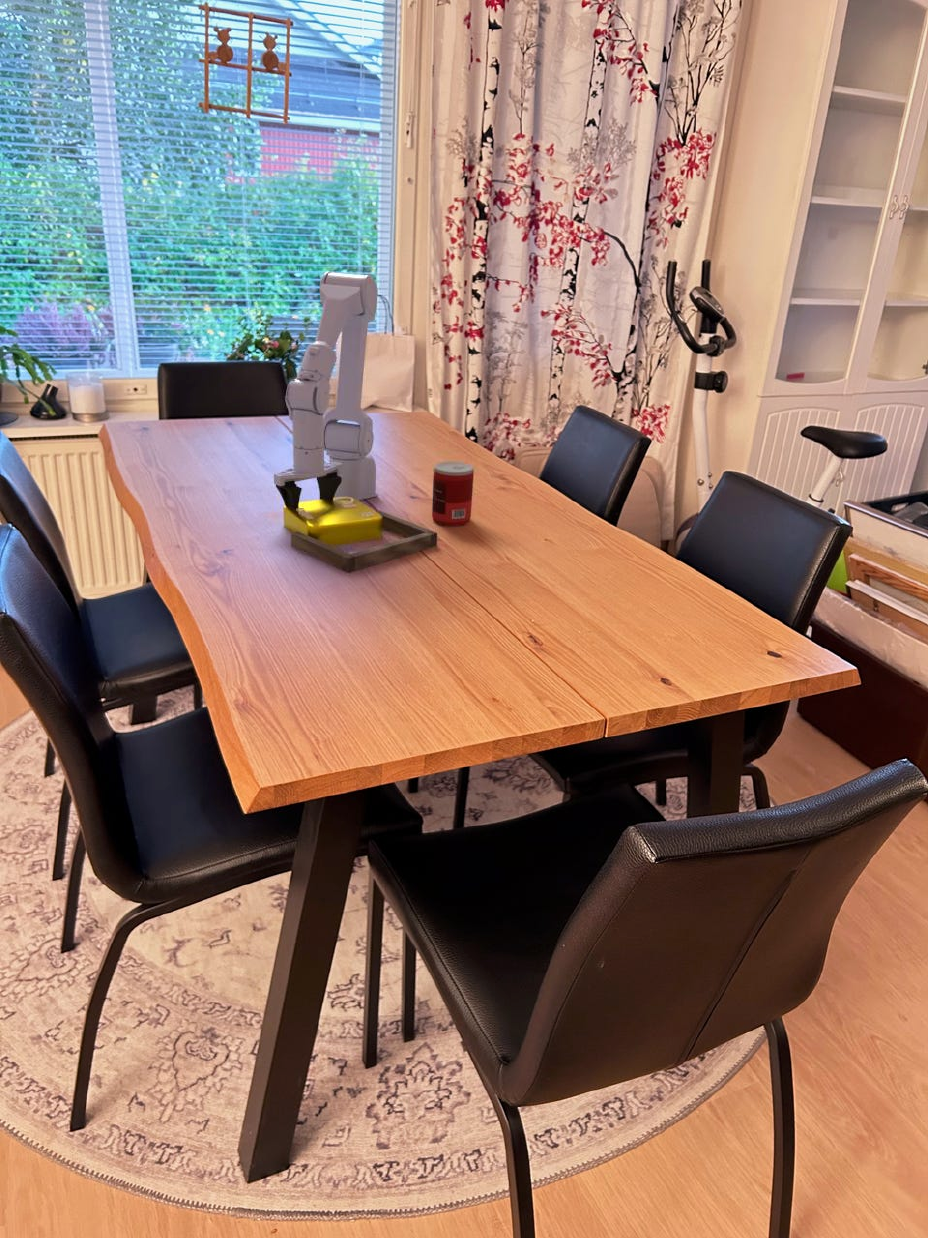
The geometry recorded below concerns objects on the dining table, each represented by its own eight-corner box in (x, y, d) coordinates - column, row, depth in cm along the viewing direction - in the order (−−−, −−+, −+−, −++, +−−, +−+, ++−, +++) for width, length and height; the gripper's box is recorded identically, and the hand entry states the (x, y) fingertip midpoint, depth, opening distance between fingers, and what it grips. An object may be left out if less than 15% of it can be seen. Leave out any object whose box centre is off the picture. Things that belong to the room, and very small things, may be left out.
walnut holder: (379, 522, 175) (379, 510, 174) (436, 545, 165) (437, 532, 164) (291, 546, 161) (290, 532, 160) (348, 572, 151) (348, 558, 150)
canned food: (476, 518, 181) (480, 465, 176) (460, 529, 174) (463, 474, 169) (442, 511, 183) (445, 458, 179) (425, 522, 177) (427, 467, 172)
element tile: (280, 525, 172) (279, 501, 170) (351, 515, 179) (351, 492, 177) (311, 551, 160) (311, 525, 158) (386, 539, 168) (386, 515, 166)
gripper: (326, 435, 174) (326, 503, 180) (263, 446, 164) (265, 517, 170) (349, 443, 170) (349, 512, 175) (286, 454, 160) (288, 527, 166)
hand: (309, 515), depth 172 cm, fingers open, 7 cm apart
